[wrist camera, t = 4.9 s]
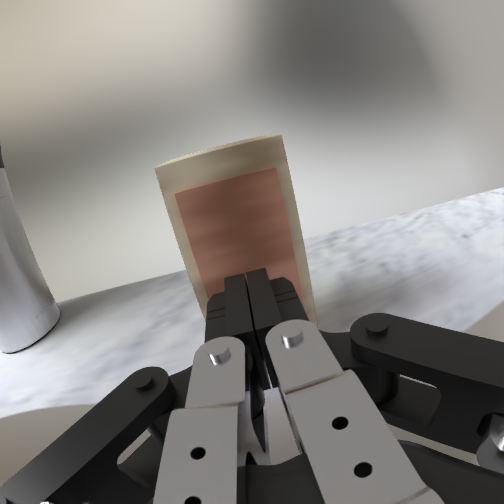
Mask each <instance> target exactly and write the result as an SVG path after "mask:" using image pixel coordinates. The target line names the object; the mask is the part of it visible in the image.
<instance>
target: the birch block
mask: <svg viewBox="0 0 504 504" xmlns="http://www.w3.org/2000/svg"><path fill="white" fill-rule="evenodd" d="M155 172H156V175H157V179H158V182H159V185H160V189H161V192H162V195H163V198H164V202H165V205H166V208H167V211H168V215H169V218H170V221H171V224H172V227H173V230H174V233H175V236H176V239H177V242H178V245H179V248H180V251H181V254H182V257H183V260H184V263H185V266H186V269H187V272H188V275H189V277H190V280H191V283H192V286H193V289H194V292H195V294H196V297H197V300H198V302H199V305H200V308H201V311H202V313H203V316H204V319H205V321H206V314H207V312H206V311H207V302H208V301H209V299H210V298H211V297H212V295H213V294H216V293H220V292H224V291H225V289H224V278H225V277H229V276H233V275H237V274H241V273H244V274H245V277H246V272H249V271H253V270H256V269H260V268H264V267H265V268H266V271H267V274H268V277H269V280H272V279H276V278H280V277H285V278H286V279H288V280H290V281H291V282H292V283H293V285H294V288H295V290H296V292H297V294H298V297H299V299H300V301H301V303H302V305H303V308H304V310H305V312H306V314H307V317H308V319H309V321H310V322H311V323H313V324H314V325H315V326H316V327H317V328H318V325H317V319H316V312H315V306H314V300H313V293H312V287H311V281H310V276H309V270H308V264H307V258H306V253H305V247H304V242H303V237H302V232H301V226H300V221H299V216H298V211H297V205H296V201H295V195H294V191H293V186H292V181H291V176H290V172H289V167H288V162H287V158H286V153H285V149H284V144H283V140H282V135H272V134H269V135H264V136H259V137H255V138H251V139H246V140H242V141H238V142H234V143H230V144H226V145H222V146H218V147H214V148H211V149H207V150H203V151H199V152H196V153H192V154H189V155H185V156H182V157H178V158H175V159H172V160H169V161H167V162H165V163H163V164H161V165H159V166H157V167H156V168H155ZM246 281H247V277H246ZM247 284H248V283H247Z"/></svg>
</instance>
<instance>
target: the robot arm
mask: <svg viewBox="0 0 504 504" xmlns="http://www.w3.org/2000/svg"><path fill="white" fill-rule="evenodd" d="M246 277H247V281H246ZM246 277H245V274H244V273H241V274H237V275H233V276H229V277H225V278H224V289H225V291H224V292H220V293H216V294H213V295H212V297H211V298H210V299H209V301H208V302H207V311H206V312H207V314H206V328H205V344H203V345H202V346H201V347H200V348H199V349H198V350H197V352H196V353H195V356H194V361H193V365H192V366H191V367H189V368H187V369H185V370H183V371H181V372H178V373H176V374H174V375H171V376H168V374H167V372H166V371H165V370H164V369H162V368H159V367H146V368H143V369H140V370H138V371H136V372H134V373H133V374H131V375H130V376H129V377H128V378H127V379H125V380H124V381H123V382H122V383H121V384H120V385H119V386H117V387H116V388H115V389H114V390H113V391H112V392H111V393H109V394H108V395H107V396H106V397H105V398H104V399H102V400H101V401H100V402H99V403H98V404H97V405H96V406H95V407H93V408H92V409H91V410H90V411H89V412H88V413H86V414H85V415H84V416H83V417H82V418H81V419H80V420H78V421H77V422H76V423H75V424H74V425H72V426H71V427H70V428H69V429H68V430H67V431H66V432H64V434H62V435H61V436H60V437H59V438H57V439H56V440H55V441H54V442H53V443H52V444H50V445H49V446H48V447H47V448H46V449H45V450H43V451H42V452H41V453H40V454H39V455H38V456H36V457H35V458H34V459H33V460H32V461H30V462H29V463H28V464H27V465H26V466H25V467H23V468H22V469H21V470H20V471H19V472H17V473H16V474H15V475H14V476H13V477H12V478H10V479H9V480H8V481H7V482H6V483H4V484H3V485H2V486H1V487H0V504H504V342H500V341H495V340H491V339H487V338H483V337H478V336H474V335H470V334H466V333H462V332H458V331H454V330H450V329H445V328H441V327H437V326H433V325H429V324H425V323H421V322H417V321H413V320H410V319H406V318H402V317H398V316H394V315H390V314H385V313H373V314H368V315H365V316H363V317H361V318H359V319H358V320H356V321H355V322H354V323H353V325H352V326H351V329H350V332H344V333H327V332H323V331H320V330H318V328H317V327H316V326H315V325H314V324H313V323H311V322H310V321H309V319H308V317H307V314H306V312H305V310H304V308H303V305H302V303H301V301H300V299H299V297H298V294H297V292H296V290H295V288H294V285H293V283H292V282H291V281H290V280H288V279H286V278H285V277H280V278H276V279H272V280H269V277H268V274H267V271H266V268H265V267H264V268H260V269H256V270H253V271H249V272H246ZM247 283H248V284H247ZM59 317H60V310H59V308H58V306H57V304H56V302H55V300H54V298H53V296H52V294H51V292H50V290H49V288H48V286H47V284H46V281H45V279H44V277H43V274H42V273H41V270H40V268H39V265H38V263H37V261H36V258H35V256H34V254H33V251H32V249H31V246H30V244H29V241H28V239H27V236H26V233H25V231H24V228H23V225H22V223H21V220H20V217H19V214H18V211H17V208H16V205H15V202H14V199H13V196H12V193H11V189H10V186H9V183H8V179H7V175H6V172H5V169H4V164H3V160H2V155H1V147H0V350H1V351H2V352H6V353H10V352H15V351H18V350H21V349H23V348H26V347H27V346H29V345H31V344H33V343H34V342H36V341H37V340H39V339H40V338H41V337H43V336H44V335H45V334H46V333H47V332H48V331H49V330H50V329H52V327H53V326H54V325H55V324H56V322H57V321H58V319H59ZM267 370H268V372H267ZM268 373H269V377H270V380H271V383H272V387H273V388H275V387H278V388H279V392H280V395H281V399H282V402H283V406H284V409H285V412H286V414H287V418H288V421H289V424H290V427H291V429H292V432H293V435H294V438H295V441H296V444H297V447H298V450H299V453H300V455H298V456H296V457H294V458H292V459H290V460H288V461H286V462H283V463H281V464H278V465H271V464H270V457H269V444H268V443H269V442H268V430H267V413H266V408H265V405H264V404H265V398H264V392H263V390H267V389H271V388H270V382H269V377H268ZM400 374H401V375H404V376H407V377H410V378H413V379H416V380H419V381H423V382H425V383H429V384H431V385H434V386H435V387H437V388H434V387H431V386H428V385H425V384H422V383H419V382H415V381H412V380H409V379H406V378H403V377H400ZM387 423H388V424H390V425H393V426H396V427H398V428H401V429H403V430H406V431H408V432H411V433H414V434H416V435H419V436H422V437H425V438H428V439H430V440H434V441H437V442H439V443H442V444H445V445H448V446H451V447H454V448H457V449H461V450H464V451H467V452H470V453H474V454H476V455H477V460H478V463H479V465H480V466H481V467H480V466H477V465H474V464H471V463H468V462H465V461H462V460H459V459H457V458H454V457H451V456H448V455H446V454H443V453H441V452H438V451H436V450H433V449H431V448H428V447H425V446H423V445H420V444H417V443H413V442H409V441H404V440H397V439H396V437H395V436H394V434H393V433H392V431H391V429H390V428H389V426H388V424H387ZM146 429H147V430H148V431H149V432H150V434H151V436H150V437H149V438H148V439H147V440H146V441H145V442H144V443H143V444H142V445H141V446H140V447H139V448H137V449H136V450H135V451H134V452H133V453H132V454H131V455H130V456H129V457H128V458H127V459H126V460H125V461H124V462H123V463H121V464H118V465H117V459H118V457H119V456H120V454H121V453H122V452H123V451H124V450H125V449H126V448H127V447H128V446H129V445H131V444H132V443H133V442H134V441H135V440H136V439H137V438H138V437H139V436H140V435H141V434H142V433H143V432H144V431H145V430H146Z"/></svg>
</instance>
